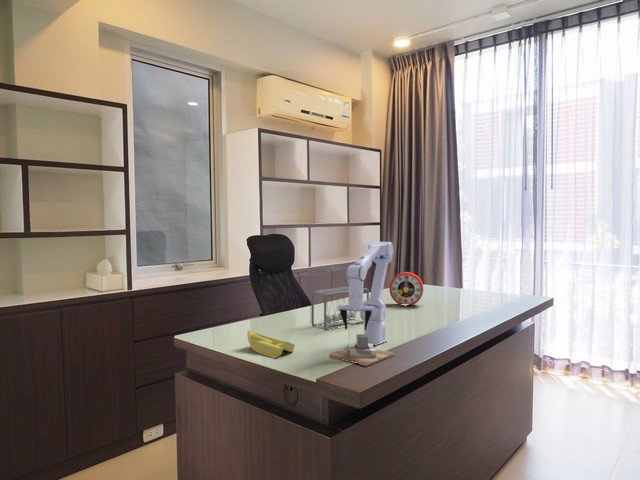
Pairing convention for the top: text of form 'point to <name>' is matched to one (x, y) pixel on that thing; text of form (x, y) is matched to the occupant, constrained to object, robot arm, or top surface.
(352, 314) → the newton's cradle
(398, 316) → the top surface
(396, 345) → the top surface
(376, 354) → the duct base
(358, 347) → the grey rectangular block
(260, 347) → the plastic component
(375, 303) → the robot arm
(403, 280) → the toy clock
